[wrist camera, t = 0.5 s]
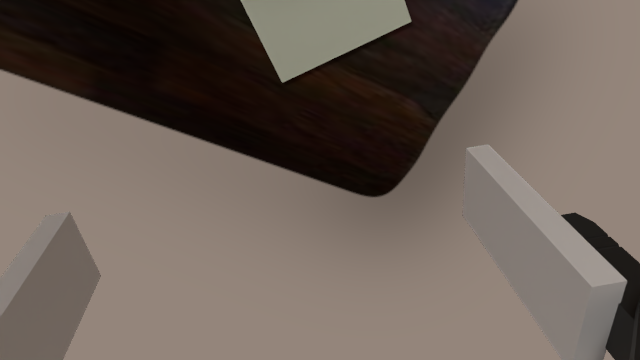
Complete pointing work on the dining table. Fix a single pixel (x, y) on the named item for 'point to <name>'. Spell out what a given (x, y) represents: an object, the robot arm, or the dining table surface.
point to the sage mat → (319, 29)
